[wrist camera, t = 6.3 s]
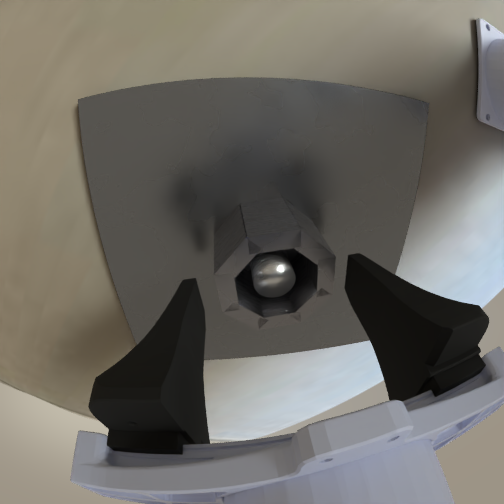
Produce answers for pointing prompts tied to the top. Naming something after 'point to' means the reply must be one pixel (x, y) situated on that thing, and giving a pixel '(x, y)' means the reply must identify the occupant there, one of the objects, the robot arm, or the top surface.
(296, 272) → the ring
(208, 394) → the top surface
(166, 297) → the stand
